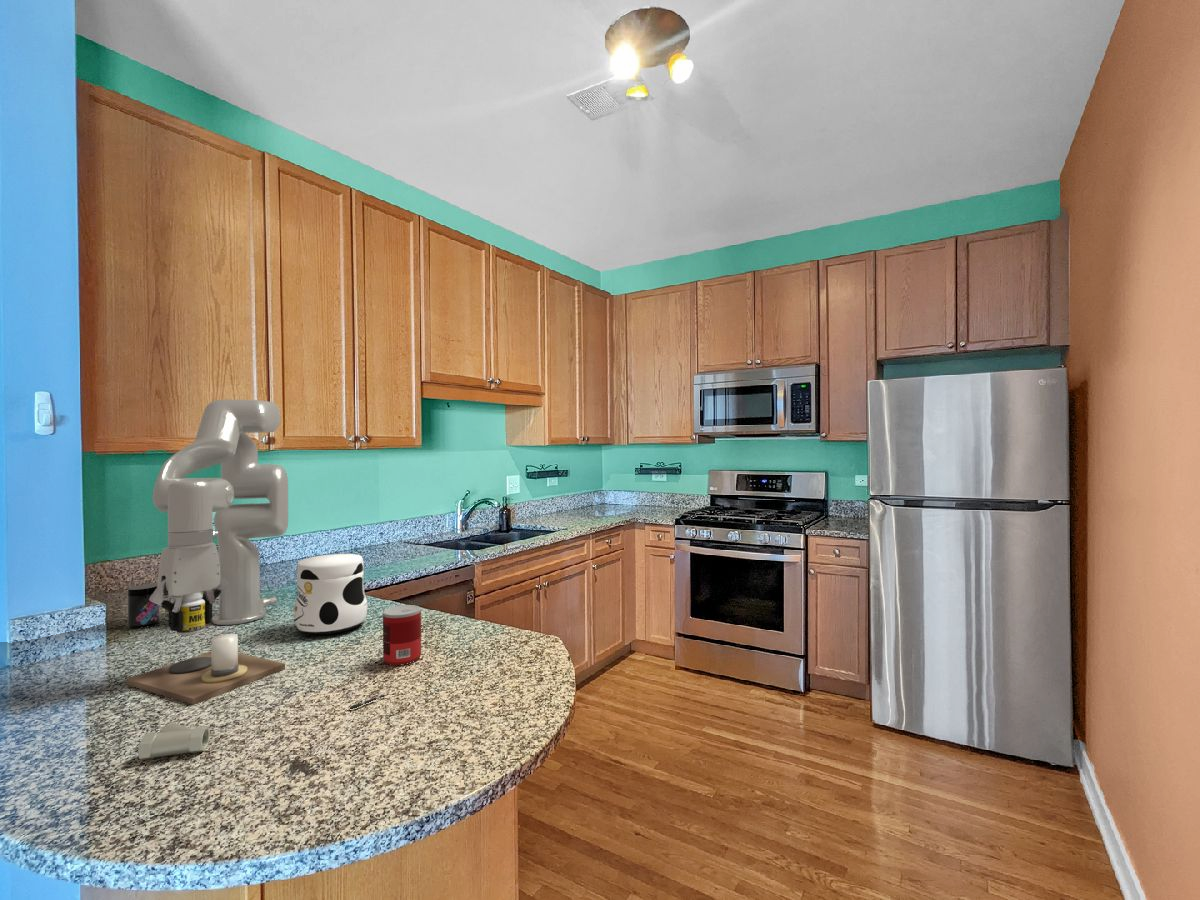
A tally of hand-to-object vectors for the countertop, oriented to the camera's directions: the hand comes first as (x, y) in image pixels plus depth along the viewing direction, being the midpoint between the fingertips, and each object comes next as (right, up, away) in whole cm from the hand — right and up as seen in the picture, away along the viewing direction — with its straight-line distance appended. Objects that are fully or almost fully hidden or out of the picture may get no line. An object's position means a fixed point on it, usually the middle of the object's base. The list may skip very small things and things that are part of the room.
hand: (191, 625), depth 115 cm
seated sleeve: (+10, -8, -4) cm, 13 cm away
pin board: (+5, -10, -2) cm, 11 cm away
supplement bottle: (0, -2, 0) cm, 2 cm away
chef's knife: (+48, -10, -11) cm, 50 cm away
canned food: (+42, -10, +6) cm, 43 cm away
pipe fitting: (+20, -10, -29) cm, 37 cm away
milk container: (+16, -10, +28) cm, 34 cm away
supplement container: (-37, -10, +32) cm, 50 cm away
